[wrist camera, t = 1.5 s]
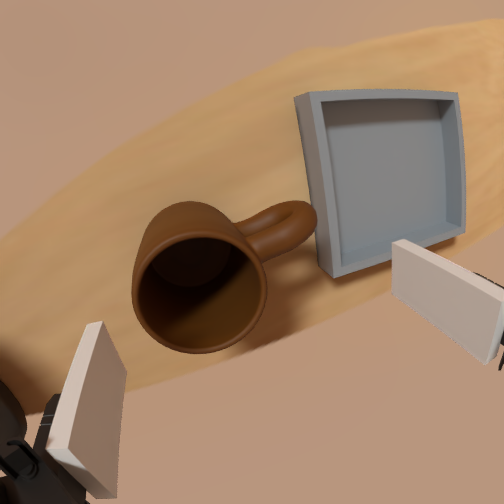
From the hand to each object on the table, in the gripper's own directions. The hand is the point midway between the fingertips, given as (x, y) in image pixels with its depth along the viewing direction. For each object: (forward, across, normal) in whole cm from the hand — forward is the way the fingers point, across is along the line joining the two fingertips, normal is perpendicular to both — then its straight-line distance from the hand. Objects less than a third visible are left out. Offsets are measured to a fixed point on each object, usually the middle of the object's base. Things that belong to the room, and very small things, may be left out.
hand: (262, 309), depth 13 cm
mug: (+14, 0, 0) cm, 14 cm away
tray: (+13, +16, +2) cm, 21 cm away
